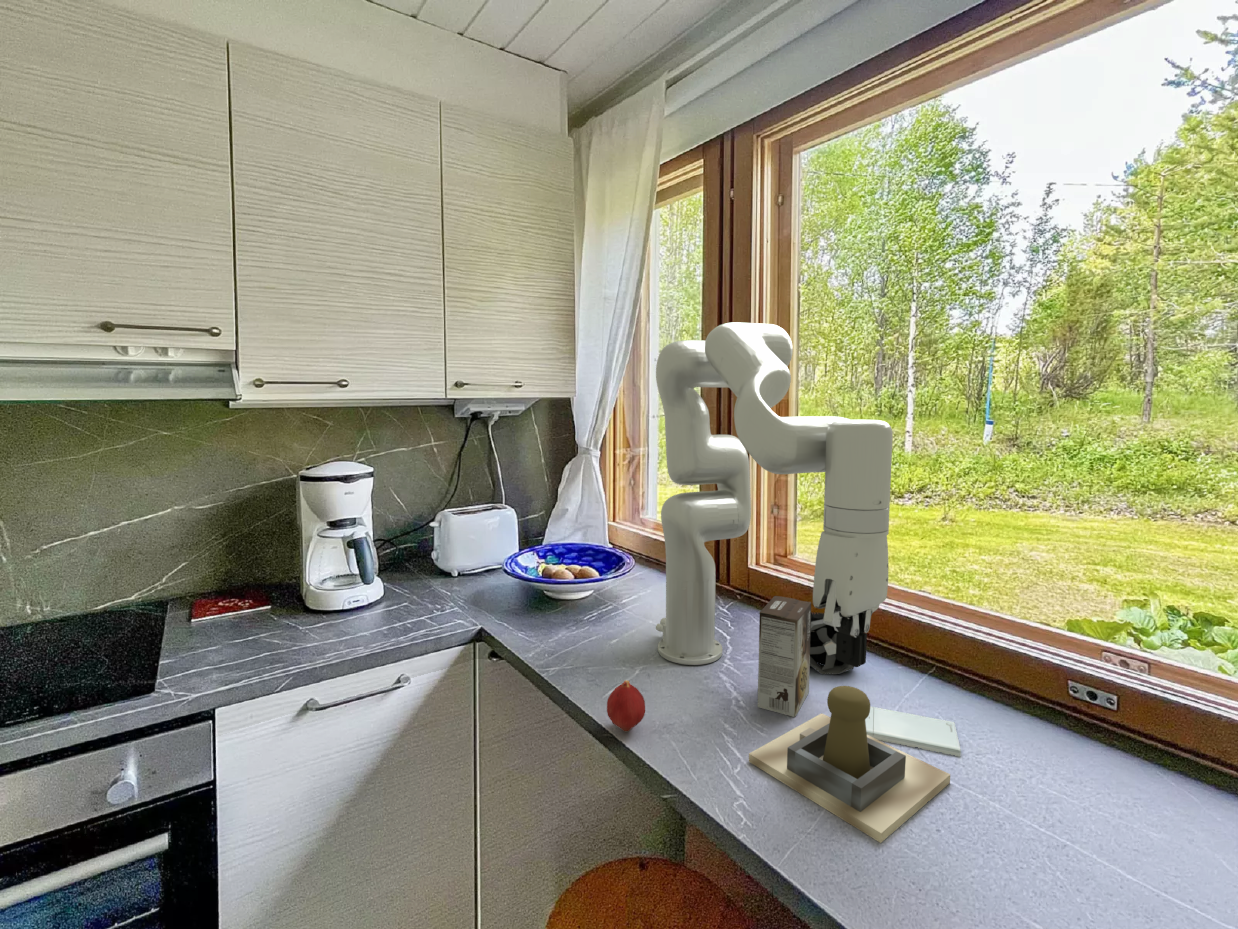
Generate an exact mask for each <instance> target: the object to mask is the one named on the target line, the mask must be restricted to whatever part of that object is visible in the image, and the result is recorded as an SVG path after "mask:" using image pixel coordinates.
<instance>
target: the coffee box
mask: <svg viewBox="0 0 1238 929" xmlns="http://www.w3.org/2000/svg"><path fill="white" fill-rule="evenodd" d="M811 612H812V602H811V601H804V600H800V599H798V598H791V597H786V596H779V595H775V596H774V595H773V597H772V598H771V599H770V600H769V601H768V603H766V605H765V606H764V607H763V608H762V609H761V610H760V612H759V623H758V624H759V625H758V626H759V627H758V630H759V632H758V633H759V635H758V673H757V708H760V709H762V710H767V711H770V712H775V713H778V714H781V715H786V716H789V717H792V718H796V716H797V715H798V714H799V712H800V709H801V708H802V707H803V704H804V702H805V700H806V698H807V696H808V695H809V693H810V667H811V666H810V631H811Z"/></svg>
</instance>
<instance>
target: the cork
mask: <svg viewBox="0 0 1238 929" xmlns="http://www.w3.org/2000/svg"><path fill="white" fill-rule="evenodd" d="M826 700H827V701H826V702H827V703H826V704H827V708H828V710H829V712H830V717H831V718H830V724H829V729H828V735H827V740H826V745H825V751H824V756H823V761H825V762H827V763H829V764H830V765H832V766H834V767H836V768H838V769H840V770H841V771H843V772H845V773H847V774H849V775H851V776H852V777H854V778H856V779H859V778H860V777H861V776H863V775H864V774H866V773H867V772H868V771H870V762H869V752H868V742H867V732H866V722H865V719H866V718H867V717H868V716H869V713H870V706H871V702H870V699H869V697H868V695H867V693H865V692H864V691H862V689H859V688H857V687H854V686H851V685H850V686H849V685H839V686H835V687H833V688H832V689H831V690H830V691H829V692H828V696H827V699H826Z"/></svg>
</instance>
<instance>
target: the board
mask: <svg viewBox="0 0 1238 929" xmlns="http://www.w3.org/2000/svg"><path fill="white" fill-rule="evenodd" d="M830 718H831V716H829V715H826V714H824V713H819V714H817V715H816V716H814V717H812V718H811V719H808V720H806V721H805V722H804V723H802V724H800V725H798V726H795V727H794V728H792V729H791V730H789V731H787V732H785V733H783V734H782V735H780V736H778V737H776V738H774V739H772V740H770V741H769V742H767V743H765V744H764V745H761V746H760V747H758V748H756V749H755V750H753V751H751V752H749V753H748V762H749V764H751V765H753V766H755V767H756V768H758V769H760V770H762V771H763V772H764V773H767V774H768V775H769V776H771V777H773V778H775V779H776V780H777V781H779V782H781V783H782V784H784V785H786V786H787V787H789V788H791V789H792V790H794V791H796V793H799V794H800V795H802V796H804V797H805V798H806V799H809V800H810V801H812V802H813V803H815V804H817V805H818V806H820V807H822V808H823V809H825V810H826V811H828V812H830V813H831V814H833V815H834V816H836V817H838V818H839V819H841V820H842V821H844V822H846V823H848V824H849V825H851V826H853V827H854V828H856V829H857V830H859V831H860V832H862V833H863V834H865V835H867V836H868V837H870V838H872V839H873V840H875V841H877V842H878V843H880V844H882V843H883V842H884V841H885V840H886V839H887V838H888V837H890V836H891V835H892V834H893V833H894V832H895V831H896V830H898V829H899V828H900V827H901V826H902V825H903V824H904V823H906V822H908V820H909V819H911V818H912V816H914V815H915V814H916V813H918V811H919V810H921V809H922V808H923V807H924V806H925V805H926V804H928V803H929V802H930V801H931V800H932V799H933V798H934V797H936V796H937V795H938V794H939V793H940V792H941V791H942V790H944V789H945V788H946V787H947V786H948V785H950V784H951V773H949V772H946V771H944V770H942V769H940V768H938V767H935V766H934V765H932V764H929V763H927V762H925V761H923V760H921V759H919V758H917V757H915V756H912V755H910V754H908V753H907V752H904V751H902V750H900V749H898V748H896V747H894V746H892V745H889V744H887V743H885V742H884V741H881V740H877V739H875V738H873V737H871V736H869V735H867V742H868V752H869V762H870V771H868V772H867V773H866V774H864V775H863V776H861V777H860V778H859V779H856V778H854V777H852V776H851V775H849V774H847V773H845V772H843V771H841V770H840V769H838V768H836V767H834V766H832V765H830V764H829V763H827V762H825V761H823V756H824V751H825V745H826V740H827V735H828V729H829V724H830ZM928 801H929V802H928ZM927 802H928V803H927Z"/></svg>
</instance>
